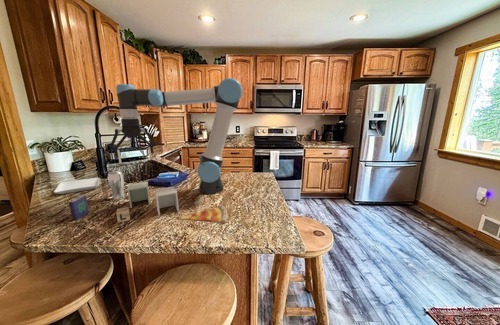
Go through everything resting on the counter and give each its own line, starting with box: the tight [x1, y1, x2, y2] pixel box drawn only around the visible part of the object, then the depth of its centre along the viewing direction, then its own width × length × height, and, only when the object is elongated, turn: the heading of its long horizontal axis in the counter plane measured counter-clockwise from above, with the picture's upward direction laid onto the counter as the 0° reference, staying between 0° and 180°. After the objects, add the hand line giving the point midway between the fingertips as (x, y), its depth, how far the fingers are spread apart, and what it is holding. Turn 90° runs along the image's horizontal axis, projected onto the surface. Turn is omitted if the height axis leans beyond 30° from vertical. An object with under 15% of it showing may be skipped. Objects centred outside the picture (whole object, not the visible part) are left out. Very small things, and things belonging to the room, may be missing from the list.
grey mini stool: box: [154, 186, 180, 217], centre depth 98 cm, size 9×9×10 cm
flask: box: [68, 193, 90, 222], centre depth 93 cm, size 9×3×11 cm, turn 8°
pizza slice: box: [177, 204, 229, 224], centre depth 96 cm, size 16×22×2 cm
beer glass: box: [107, 170, 126, 201], centre depth 112 cm, size 7×7×15 cm
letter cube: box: [116, 206, 131, 223], centre depth 90 cm, size 5×4×4 cm
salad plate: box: [53, 177, 100, 195], centre depth 131 cm, size 21×21×3 cm
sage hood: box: [127, 181, 151, 209], centre depth 106 cm, size 9×9×10 cm
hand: (136, 161), depth 102 cm, fingers open, 13 cm apart
